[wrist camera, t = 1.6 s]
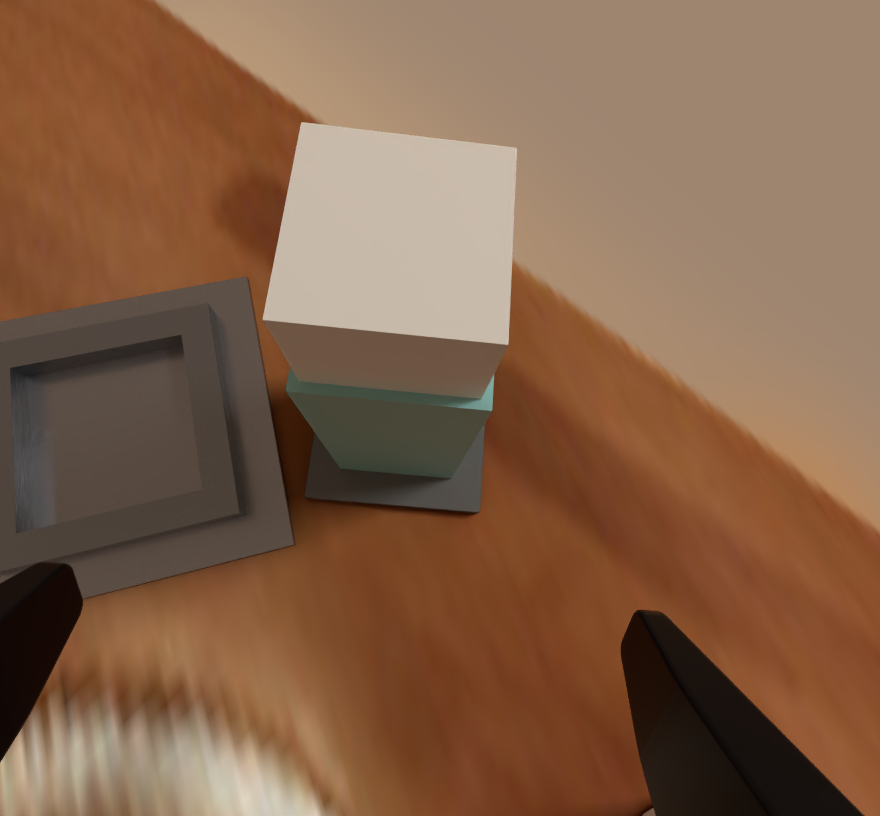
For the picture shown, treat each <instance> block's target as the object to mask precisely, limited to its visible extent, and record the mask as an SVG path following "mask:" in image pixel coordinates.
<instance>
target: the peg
mask: <svg viewBox="0 0 880 816" xmlns="http://www.w3.org/2000/svg"><path fill="white" fill-rule="evenodd" d="M516 157H517V148H514V147H505V146H497V145H488V144H480V143H471V142H463V141H454V140H447V139H438V138H430V137H421V136H412V135H404V134H396V133H387V132H379V131H370V130H362V129H354V128H345V127H337V126H329V125H320V124H312V123H303V122H301V127H300V132H299V137H298V142H297V147H296V152H295V158H294V163H293V168H292V173H291V178H290V183H289V188H288V193H287V198H286V203H285V208H284V214H283V219H282V224H281V229H280V234H279V239H278V244H277V249H276V254H275V259H274V264H273V270H272V275H271V280H270V285H269V290H268V295H267V300H266V305H265V310H264V315H263V321H264V323H265V325H266V326H267V328H268V330H269V331H270V333H271V335H272V337H273V338H274V340H275V342H276V343H277V345H278V347H279V348H280V350H281V352H282V353H283V355H284V357H285V359H286V360H287V362H288V364H289V365H290V369H289V374H288V380H287V386H286V393H287V394H288V395H289V397H290V398H291V400H292V401H293V402H294V404H295V405H296V407H297V408H298V409H299V411H300V412H301V414H302V415H303V417H304V418H305V419H306V421H307V422H308V424H309V425H310V426H311V428H312V429H313V431H314V432H315V434H316V435H317V436H318V438H319V439H320V441H321V442H322V443H323V445H324V446H325V448H326V449H327V450H328V452H329V453H330V455H331V456H332V458H333V459H334V460H335V462H336V463H337V465H338V466H339V467H340V469H351V470H362V471H373V472H384V473H395V474H406V475H418V476H429V477H440V478H452V476H453V475H454V473H455V471H456V470H457V468H458V466H459V465H460V463H461V461H462V460H463V458H464V457H465V455H466V453H467V452H468V450H469V448H470V447H471V445H472V443H473V442H474V440H475V438H476V437H477V435H478V433H479V432H480V430H481V429H482V427H483V425H484V424H485V422H486V420H487V419H488V417H489V415H490V414H491V412H492V404H493V385H494V373H495V371H496V369H497V367H498V365H499V363H500V361H501V359H502V357H503V354H504V352H505V350H506V348H507V346H508V340H509V317H510V294H511V272H512V249H513V224H514V203H515V181H516Z"/></svg>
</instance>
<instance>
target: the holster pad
mask: <svg viewBox="0 0 880 816" xmlns="http://www.w3.org/2000/svg"><path fill="white" fill-rule="evenodd" d="M484 429H485V424H484V425H483V427H482V429H481V430H480V432H479V433H478V435H477V437H476V438H475V440H474V442H473V443H472V445H471V447H470V448H469V450H468V452H467V453H466V455H465V457H464V458H463V460H462V461H461V463H460V465H459V466H458V468H457V470H456V471H455V473H454V475H453V476H452V478H440V477H429V476H418V475H406V474H395V473H384V472H373V471H362V470H351V469H340V467H339V466H338V465H337V463H336V462H335V460H334V459H333V458H332V456H331V455H330V453H329V452H328V450H327V449H326V448H325V446H324V445H323V443H322V442H321V441H320V439H319V438H318V436H317V435H316V434H315V432H314V438H313V444H312V451H311V457H310V464H309V470H308V477H307V483H306V489H305V496H304V497H305V498H308V499H319V500H331V501H342V502H354V503H365V504H377V505H388V506H400V507H411V508H423V509H434V510H446V511H457V512H469V513H479V512H480V501H481V483H482V465H483V447H484Z"/></svg>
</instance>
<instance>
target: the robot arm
mask: <svg viewBox="0 0 880 816" xmlns="http://www.w3.org/2000/svg"><path fill="white" fill-rule="evenodd" d="M82 606H83V598H82V595H81V592H80V589H79V586H78V583H77V580H76V577H75V574H74V571H73V568H72V567H71V566H70V565H69V564H66V563H57V562H39V563H36V564H34V565H32V566H30V567H29V568H27V569H25V570H23V571H21V572H20V573H18V574H16V575H14V576H12V577H11V578H9V579H7V580H5V581H3V582H2V583H0V762H1V761H2V759H3V757H4V756H5V754H6V752H7V751H8V749H9V748H10V746H11V744H12V743H13V741H14V740H15V738H16V736H17V735H18V733H19V732H20V730H21V728H22V726H23V725H24V723H25V721H26V720H27V718H28V716H29V715H30V713H31V711H32V709H33V707H34V705H35V704H36V702H37V700H38V698H39V696H40V694H41V692H42V690H43V688H44V686H45V684H46V682H47V680H48V678H49V676H50V674H51V672H52V670H53V668H54V666H55V664H56V662H57V660H58V658H59V656H60V654H61V652H62V650H63V648H64V646H65V644H66V642H67V640H68V638H69V636H70V634H71V632H72V630H73V628H74V626H75V624H76V622H77V620H78V618H79V616H80V614H81V611H82ZM621 659H622V664H623V670H624V675H625V681H626V687H627V692H628V698H629V703H630V709H631V714H632V720H633V726H634V731H635V737H636V742H637V747H638V752H639V757H640V761H641V764H642V768H643V772H644V776H645V779H646V783H647V787H648V790H649V794H650V797H651V801H652V804H653V808H654V812H655V815H656V816H864V815H863V814H862V813H861V812H860V811H859V810H858V809H857V808H856V807H855V806H854V805H853V804H852V803H851V802H850V801H849V800H848V799H847V798H846V797H845V796H844V795H843V794H842V793H841V792H840V791H839V790H838V789H837V788H836V786H835V785H834V784H833V783H832V782H831V781H830V780H829V779H828V778H827V777H826V776H825V775H824V774H823V773H822V772H821V771H820V770H819V769H818V768H817V767H816V766H815V765H814V764H813V763H812V762H811V761H810V760H809V759H808V758H807V757H806V756H805V755H804V754H803V753H802V752H801V751H800V750H799V749H798V748H797V747H796V746H795V745H794V744H793V743H792V742H791V741H790V740H789V739H788V738H787V737H786V736H785V735H784V734H783V733H782V732H781V731H780V730H779V729H778V728H777V727H776V726H775V725H774V724H773V723H772V722H771V721H770V720H769V719H768V718H767V717H766V716H765V715H764V714H763V713H762V712H761V711H760V710H759V709H758V708H757V707H756V706H755V705H754V704H753V703H752V702H751V701H750V700H749V699H748V698H747V697H746V696H745V695H744V694H743V693H742V692H741V691H740V690H739V689H738V688H737V687H736V686H735V684H734V683H733V682H732V681H731V680H730V679H729V678H728V677H727V676H726V675H725V674H724V673H723V672H722V671H721V670H720V669H719V668H718V667H717V666H716V665H715V664H714V663H713V662H712V661H711V660H710V659H709V658H708V657H707V656H706V655H705V654H704V653H703V652H702V651H701V650H700V649H699V648H698V647H697V646H696V645H695V644H694V643H693V642H692V641H691V640H690V639H689V638H688V637H687V636H686V635H685V634H684V633H683V632H682V631H681V630H680V629H679V628H678V627H677V626H676V625H675V624H674V623H673V622H672V621H671V620H670V619H669V618H668V617H667V616H666V615H665V614H663V613H662V612H659V611H650V610H637V611H636V612H635V613H634V614H633V616H632V618H631V621H630V623H629V625H628V628H627V630H626V632H625V635H624V637H623V640H622V643H621Z"/></svg>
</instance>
